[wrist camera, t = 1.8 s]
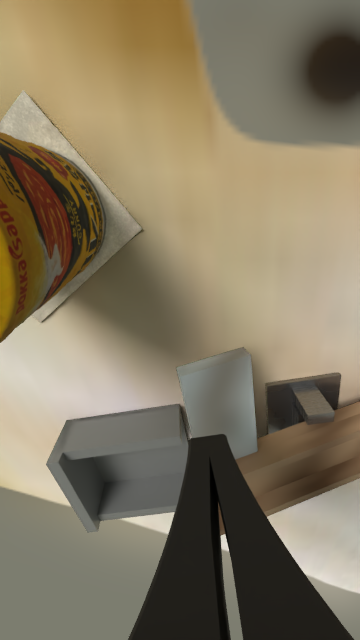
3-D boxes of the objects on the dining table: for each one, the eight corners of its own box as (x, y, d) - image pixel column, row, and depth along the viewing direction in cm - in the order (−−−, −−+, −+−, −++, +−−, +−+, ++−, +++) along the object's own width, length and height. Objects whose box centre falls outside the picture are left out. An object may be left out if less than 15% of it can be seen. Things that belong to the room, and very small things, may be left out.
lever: (438, 287, 15) (491, 301, 13) (400, 432, 21) (433, 458, 18) (176, 367, 13) (189, 399, 11) (207, 507, 18) (221, 547, 16)
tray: (179, 403, 19) (179, 445, 16) (195, 473, 23) (198, 519, 19) (66, 420, 20) (45, 464, 17) (99, 486, 23) (87, 532, 20)
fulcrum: (338, 372, 18) (364, 401, 16) (329, 453, 22) (350, 487, 19) (265, 383, 18) (279, 413, 16) (268, 461, 22) (280, 496, 20)
